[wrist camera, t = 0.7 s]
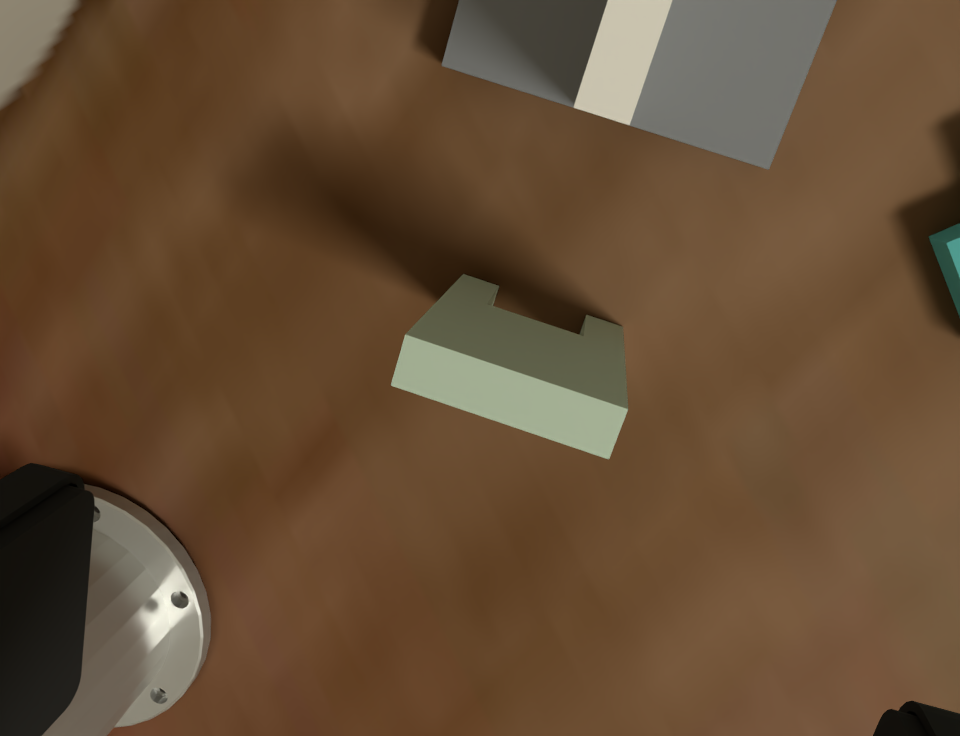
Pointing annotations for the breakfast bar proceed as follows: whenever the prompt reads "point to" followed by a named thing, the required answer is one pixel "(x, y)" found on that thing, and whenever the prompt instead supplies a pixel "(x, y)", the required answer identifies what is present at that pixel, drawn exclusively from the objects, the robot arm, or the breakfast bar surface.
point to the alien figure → (949, 259)
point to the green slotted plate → (518, 368)
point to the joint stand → (653, 62)
